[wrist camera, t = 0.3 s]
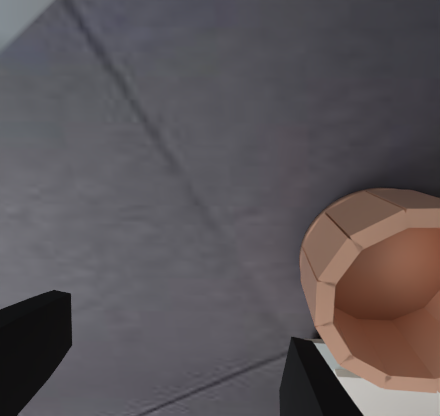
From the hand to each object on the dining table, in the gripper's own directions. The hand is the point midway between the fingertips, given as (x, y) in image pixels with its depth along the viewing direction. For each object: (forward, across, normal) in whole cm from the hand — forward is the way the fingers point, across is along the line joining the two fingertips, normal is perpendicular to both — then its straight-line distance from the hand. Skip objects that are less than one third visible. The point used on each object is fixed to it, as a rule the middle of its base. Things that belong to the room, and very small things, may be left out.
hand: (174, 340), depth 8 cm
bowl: (+9, -10, 0) cm, 14 cm away
